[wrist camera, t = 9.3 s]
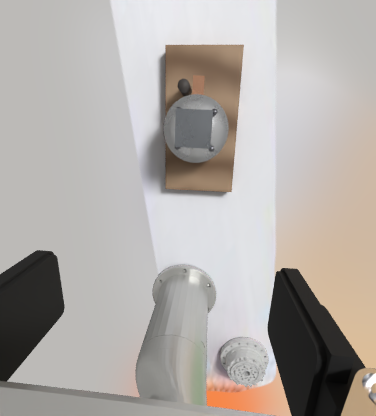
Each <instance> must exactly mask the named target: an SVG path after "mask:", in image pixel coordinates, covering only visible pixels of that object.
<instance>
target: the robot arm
mask: <svg viewBox="0 0 376 416" xmlns="http://www.w3.org/2000/svg"><path fill="white" fill-rule="evenodd" d="M208 283H209V284H208ZM153 298H154V301H155V303H156V305H155V308H154V311H153V314H152V317H151V320H150V323H149V326H148V329H147V332H146V335H145V338H144V341H143V344H142V347H141V350H140V353H139V356H138V360H137V364H136V383H137V388H138V392H139V395H140V398H139V397H131V396H123V395H115V394H106V393H99V392H90V391H82V390H74V389H65V388H57V387H48V386H40V385H32V384H23V383H14V382H7V380H8V379H9V378H10V377H11V376H12V374H13V373H14V372H15V371H16V370H17V368H18V367H19V366H20V365H21V364H22V362H23V361H24V360H25V359H26V358H27V356H28V355H29V354H30V353H31V352H32V350H33V349H34V348H35V347H36V346H37V344H38V343H39V342H40V341H41V339H42V338H43V337H44V336H45V335H46V334H47V332H48V331H49V330H50V329H51V328H52V326H53V325H54V324H55V323H56V322H57V320H58V319H59V318H60V317H61V315H62V314H63V312H64V300H63V294H62V287H61V280H60V273H59V267H58V261H57V256H56V255H54V253H53V252H51V251H40V250H39V251H38V250H37V251H35V252H34V253H32V254H30V255H29V256H28V257H26V258H24V259H23V260H21V261H20V262H18V263H17V264H15V265H14V266H12V267H11V268H9V269H8V270H6V271H5V272H3V273H2V274H0V416H274V415H266V414H260V413H253V412H246V411H239V410H233V409H226V408H218V407H210V406H207V397H206V369H207V318H208V313H209V312H210V311H211V309H212V308H213V306H214V304H215V300H216V291H215V286H214V283H213V281H212V280H211V278H210V277H209V276H208V275H207V274H206V273H205V272H203V271H202V270H200V269H198V268H196V267H193V266H190V265H176V266H172V267H169V268H167V269H165V270H164V271H162V272H161V273H160V274H159V275H158V277H157V279H156V280H155V283H154V286H153ZM268 335H269V339H270V342H271V346H272V349H273V353H274V356H275V359H276V363H277V366H278V370H279V373H280V377H281V380H282V384H283V387H284V390H285V394H286V398H287V401H288V405H289V408H290V412H291V415H292V416H376V369H374V368H365V366H364V364H363V363H362V361H361V360H360V358H359V357H358V355H357V354H356V353H355V351H354V349H353V348H352V346H351V345H350V344H349V342H348V340H347V339H346V337H345V336H344V335H343V333H342V332H341V330H340V328H339V327H338V326H337V324H336V322H335V321H334V320H333V318H332V316H331V315H330V313H329V312H328V310H327V309H326V308H325V307H324V306H323V305H321V304H320V303H319V301H318V300H317V298H316V297H315V295H314V293H313V292H312V291H311V289H310V288H309V286H308V284H307V283H306V281H305V280H304V278H303V277H302V275H301V274H300V272H299V270H298V269H288V268H282V269H281V271H277V272H276V276H275V282H274V289H273V295H272V301H271V308H270V314H269V321H268Z"/></svg>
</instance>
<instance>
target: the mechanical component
mask: <svg viewBox="0 0 376 416" xmlns="http://www.w3.org/2000/svg"><path fill="white" fill-rule="evenodd" d="M220 357H221V363H222V366H223V367H224V369H225V370H226V371H227V373H228V376H229V377H230V379H231V380H233V381H234V382H236V384H237V385H238V384H241V385H245V387H247V385H249V386H252V385H256V383H258V382H259V381H263V379H262V378H263V377H264V375H265V369H266V367H267V365H268V361H269V359H268V354H267V351H266V349H265V347H264V346H263V345H262V344H261V343H260V342H258V341H256V340H254V339H252V338H246V337H240V338H235V339H232V340H230V341H228V342H227V343H226V344H225V345H224V346H223V347H222V350H221V354H220Z"/></svg>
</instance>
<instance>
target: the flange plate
mask: <svg viewBox="0 0 376 416" xmlns="http://www.w3.org/2000/svg"><path fill="white" fill-rule="evenodd" d="M204 84H205V76H200V75H193V88H192V95H188V96H185V97H183V98H181V99H179V100H178V101H176V102H175V103H174V104H173V105H172V106H171V108H170V109H169V111H168V113H167V115H166V117H165V121H164V137H165V141H166V143H167V145H168V147H169V149H170V150H171V151H172V152H173V153H174V154H175V155H176V156H177V157H178V158H180V159H182V160H184V161H187V162H192V163H200V162H204V161H207V160H210V159H211V158H213V157H214V156H216V155H217V154H218V153H219V152H220V151H221V149H222V148H223V146H224V145H225V143H226V140H227V137H228V130H229V126H228V119H227V116H226V114H225V112H224V110H223V108H222V107H221V106H220V104H219V103H218V102H216V101H215V100H214V99H212V98H210V97H208V96H205V95H204Z"/></svg>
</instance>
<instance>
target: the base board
mask: <svg viewBox="0 0 376 416" xmlns="http://www.w3.org/2000/svg"><path fill="white" fill-rule="evenodd" d="M243 47H244V45H166V115H167V113H168V111H169V109H170V108H171V106H172V105H173V104H174V103H175V102H176V101H178V100H179V99H181V98H183V97H185V96H188V95H192V88H193V75H200V76H205V84H204V95H205V96H208V97H210V98H212V99H214V100H215V101H216V102H218V103H219V104H220V106H221V107H222V108H223V110H224V112H225V114H226V116H227V119H228V126H229V130H228V137H227V140H226V143H225V145H224V146H223V148H222V149H221V151H220V152H219V153H218V154H217V155H216V156H214V157H213V158H211V159H210V160H207V161H204V162H200V163H192V162H187V161H184V160H182V159H180V158H178V157H177V156H176V155H175V154H174V153H173V152H172V151H171V150H170V149H169V147H168V145H167V143H166V189H178V190H199V191H220V192H231V190H232V179H233V167H234V155H235V143H236V131H237V119H238V107H239V95H240V83H241V71H242V59H243Z"/></svg>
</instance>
